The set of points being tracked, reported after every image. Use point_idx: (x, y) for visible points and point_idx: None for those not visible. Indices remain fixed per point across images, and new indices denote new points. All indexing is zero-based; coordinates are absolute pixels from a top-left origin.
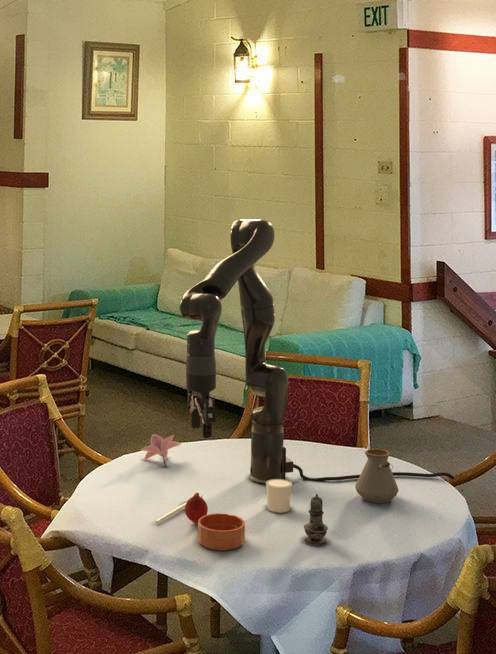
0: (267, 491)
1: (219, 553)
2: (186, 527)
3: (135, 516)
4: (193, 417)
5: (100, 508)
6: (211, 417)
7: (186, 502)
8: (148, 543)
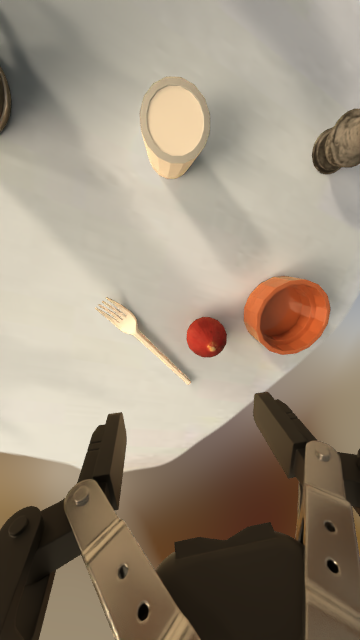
0: (175, 168)
1: None
2: None
3: (154, 402)
4: (119, 485)
5: None
6: (342, 478)
7: (116, 325)
8: (246, 398)
